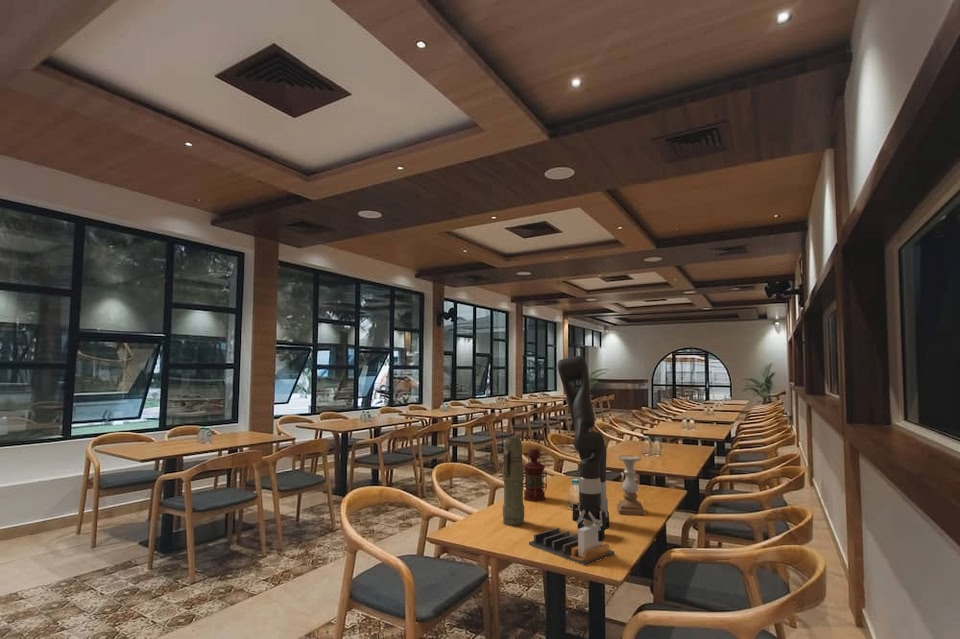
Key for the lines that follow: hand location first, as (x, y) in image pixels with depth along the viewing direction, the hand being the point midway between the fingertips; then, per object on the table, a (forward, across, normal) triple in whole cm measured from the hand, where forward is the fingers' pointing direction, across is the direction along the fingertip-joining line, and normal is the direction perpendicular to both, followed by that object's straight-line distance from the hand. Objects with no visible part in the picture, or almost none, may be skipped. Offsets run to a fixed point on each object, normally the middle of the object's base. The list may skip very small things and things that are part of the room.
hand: (590, 538), depth 185 cm
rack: (+6, +9, 0) cm, 11 cm away
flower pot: (+7, +14, -19) cm, 24 cm away
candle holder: (+7, +23, -57) cm, 62 cm away
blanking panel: (+5, 0, 0) cm, 5 cm away
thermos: (+6, +45, -6) cm, 46 cm away
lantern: (+7, +66, -40) cm, 77 cm away
